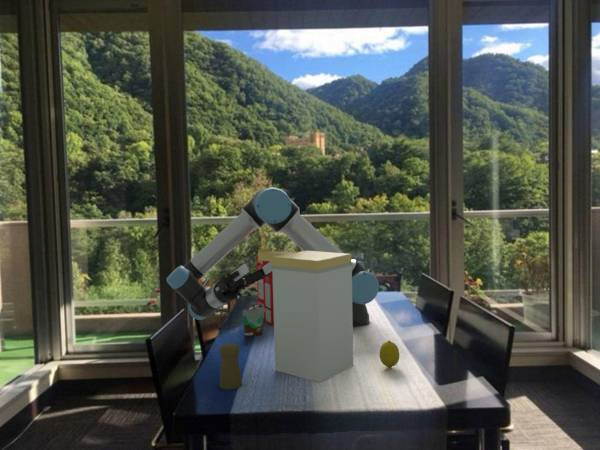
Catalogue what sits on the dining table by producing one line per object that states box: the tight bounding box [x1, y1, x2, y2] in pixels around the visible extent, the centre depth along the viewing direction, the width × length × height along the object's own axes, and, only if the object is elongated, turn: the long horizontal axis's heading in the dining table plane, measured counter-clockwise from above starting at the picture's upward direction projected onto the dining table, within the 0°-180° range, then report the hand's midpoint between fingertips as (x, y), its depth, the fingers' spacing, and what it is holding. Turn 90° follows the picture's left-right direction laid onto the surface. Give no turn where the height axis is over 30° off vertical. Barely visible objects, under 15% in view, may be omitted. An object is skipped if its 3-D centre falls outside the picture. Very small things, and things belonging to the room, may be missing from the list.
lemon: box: [379, 340, 400, 369], centre depth 149 cm, size 6×6×8 cm
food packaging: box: [255, 255, 274, 327], centre depth 204 cm, size 15×5×25 cm, turn 26°
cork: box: [219, 342, 243, 390], centre depth 139 cm, size 6×6×11 cm
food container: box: [242, 302, 265, 338], centre depth 187 cm, size 12×6×10 cm, turn 168°
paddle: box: [257, 247, 353, 270], centre depth 152 cm, size 27×16×3 cm, turn 51°
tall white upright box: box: [271, 263, 354, 383], centre depth 150 cm, size 16×16×30 cm
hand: (262, 264), depth 160 cm, fingers open, 13 cm apart
